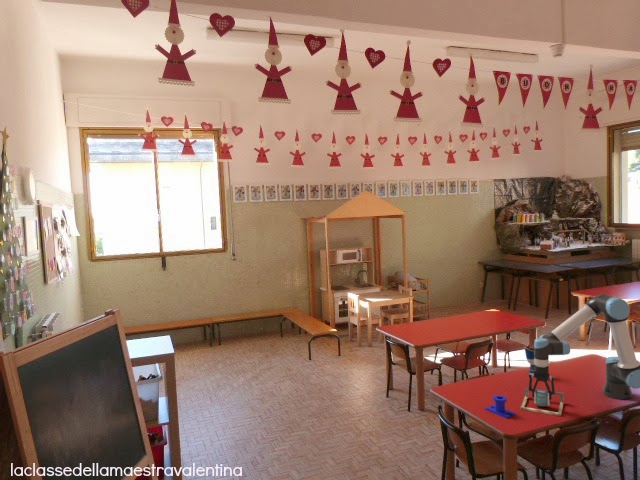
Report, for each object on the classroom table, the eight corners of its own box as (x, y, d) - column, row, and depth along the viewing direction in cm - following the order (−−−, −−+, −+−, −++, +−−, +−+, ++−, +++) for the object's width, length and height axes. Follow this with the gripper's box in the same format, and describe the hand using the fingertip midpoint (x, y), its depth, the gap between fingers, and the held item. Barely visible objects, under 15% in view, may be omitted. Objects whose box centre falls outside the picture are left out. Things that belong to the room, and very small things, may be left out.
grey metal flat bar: (563, 403, 282) (563, 392, 282) (563, 404, 281) (563, 393, 280) (525, 397, 293) (525, 387, 293) (525, 398, 292) (524, 388, 291)
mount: (485, 410, 278) (484, 395, 277) (493, 406, 282) (493, 392, 281) (507, 418, 265) (506, 403, 264) (515, 415, 269) (515, 400, 268)
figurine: (541, 378, 322) (541, 350, 321) (527, 378, 324) (526, 349, 323) (537, 372, 335) (536, 344, 334) (523, 372, 337) (522, 344, 336)
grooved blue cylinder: (548, 403, 279) (548, 391, 279) (547, 407, 274) (547, 395, 273) (536, 401, 282) (536, 389, 282) (535, 405, 277) (535, 393, 277)
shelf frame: (563, 403, 282) (563, 401, 282) (560, 416, 265) (560, 414, 265) (525, 397, 293) (525, 395, 293) (520, 409, 276) (520, 407, 276)
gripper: (560, 365, 275) (560, 404, 276) (524, 361, 285) (525, 398, 286) (559, 369, 269) (559, 409, 270) (522, 365, 279) (523, 403, 280)
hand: (541, 403), depth 278 cm, fingers closed on grooved blue cylinder, 6 cm apart
